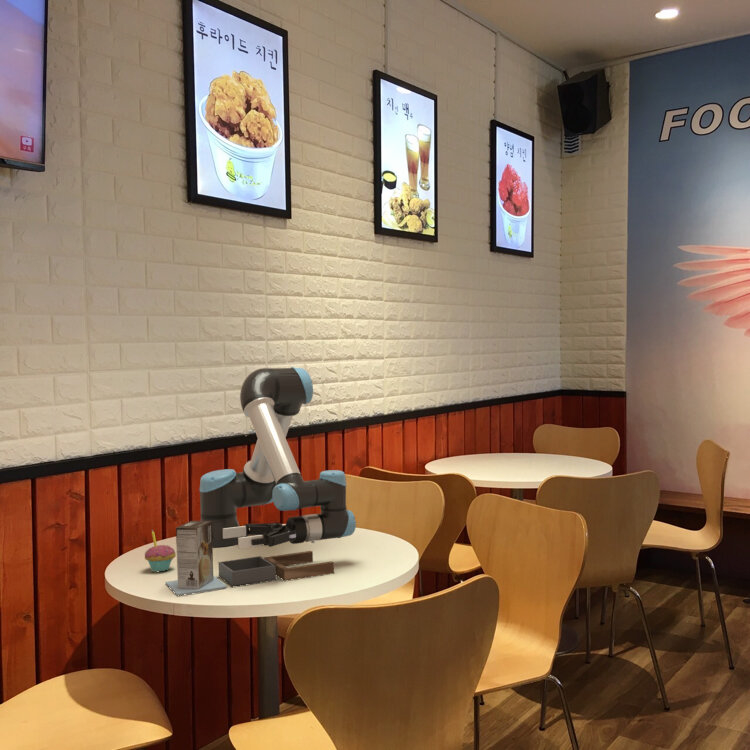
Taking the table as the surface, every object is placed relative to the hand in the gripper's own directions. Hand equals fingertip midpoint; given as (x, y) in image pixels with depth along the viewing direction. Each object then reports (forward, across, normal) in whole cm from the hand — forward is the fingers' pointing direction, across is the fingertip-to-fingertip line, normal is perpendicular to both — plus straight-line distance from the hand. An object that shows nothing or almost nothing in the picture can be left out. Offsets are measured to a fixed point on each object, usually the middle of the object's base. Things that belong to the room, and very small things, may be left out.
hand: (230, 538), depth 214 cm
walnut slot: (-20, 0, -12) cm, 23 cm away
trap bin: (-4, 0, -12) cm, 12 cm away
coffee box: (+10, 0, -11) cm, 15 cm away
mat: (+10, 0, -12) cm, 15 cm away
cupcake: (+14, +22, -12) cm, 29 cm away
